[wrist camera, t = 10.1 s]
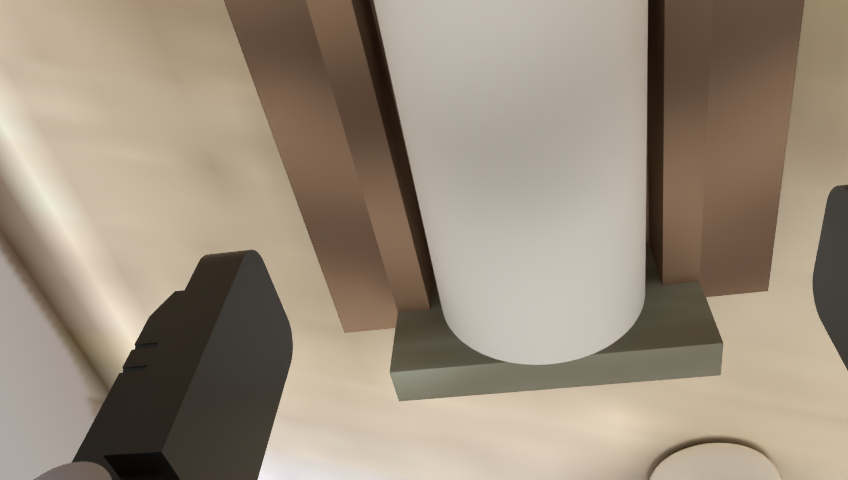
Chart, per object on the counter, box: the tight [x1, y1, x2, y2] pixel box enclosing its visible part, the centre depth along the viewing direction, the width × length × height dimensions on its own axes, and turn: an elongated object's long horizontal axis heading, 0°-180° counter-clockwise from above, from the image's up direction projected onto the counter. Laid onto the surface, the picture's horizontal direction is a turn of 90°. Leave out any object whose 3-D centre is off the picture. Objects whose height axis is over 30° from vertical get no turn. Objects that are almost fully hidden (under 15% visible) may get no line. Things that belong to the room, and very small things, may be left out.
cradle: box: [224, 0, 804, 401], centre depth 17 cm, size 19×14×6 cm
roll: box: [374, 0, 648, 365], centre depth 16 cm, size 13×6×6 cm, turn 10°
